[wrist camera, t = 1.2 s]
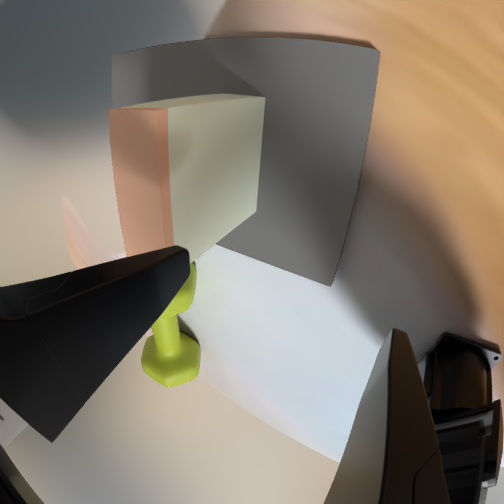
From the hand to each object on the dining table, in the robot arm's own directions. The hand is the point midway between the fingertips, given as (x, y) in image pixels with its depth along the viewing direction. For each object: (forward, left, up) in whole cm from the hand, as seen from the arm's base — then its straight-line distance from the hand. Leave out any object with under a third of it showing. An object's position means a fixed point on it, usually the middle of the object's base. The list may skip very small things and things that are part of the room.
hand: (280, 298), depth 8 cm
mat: (+11, 0, -12) cm, 16 cm away
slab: (+8, 0, -11) cm, 14 cm away
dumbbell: (+15, +19, -12) cm, 27 cm away
